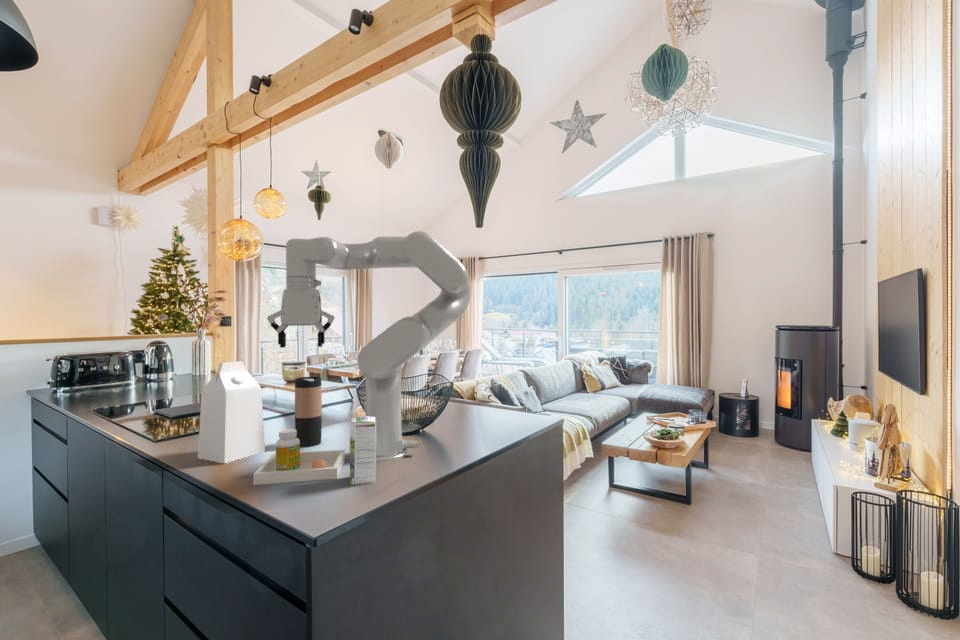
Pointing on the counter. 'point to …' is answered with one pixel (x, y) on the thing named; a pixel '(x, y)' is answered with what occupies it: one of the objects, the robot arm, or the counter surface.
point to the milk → (231, 415)
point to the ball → (318, 464)
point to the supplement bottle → (288, 450)
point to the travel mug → (308, 410)
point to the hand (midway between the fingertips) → (301, 346)
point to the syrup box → (363, 450)
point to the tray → (302, 468)
